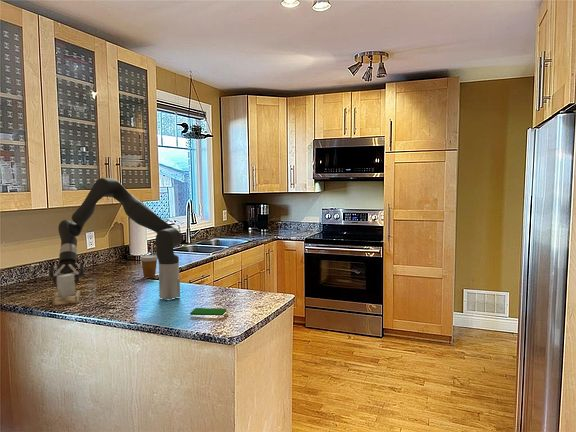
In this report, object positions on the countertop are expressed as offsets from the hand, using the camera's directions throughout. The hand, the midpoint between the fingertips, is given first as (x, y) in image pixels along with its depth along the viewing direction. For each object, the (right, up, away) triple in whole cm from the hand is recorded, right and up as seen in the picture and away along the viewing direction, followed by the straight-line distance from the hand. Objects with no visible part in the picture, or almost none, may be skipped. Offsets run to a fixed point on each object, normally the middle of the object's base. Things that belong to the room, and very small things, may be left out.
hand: (66, 283), depth 191 cm
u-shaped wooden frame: (0, -8, +1) cm, 8 cm away
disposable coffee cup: (+23, -4, +46) cm, 51 cm away
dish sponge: (+70, -11, -19) cm, 74 cm away
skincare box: (0, -8, +1) cm, 8 cm away
